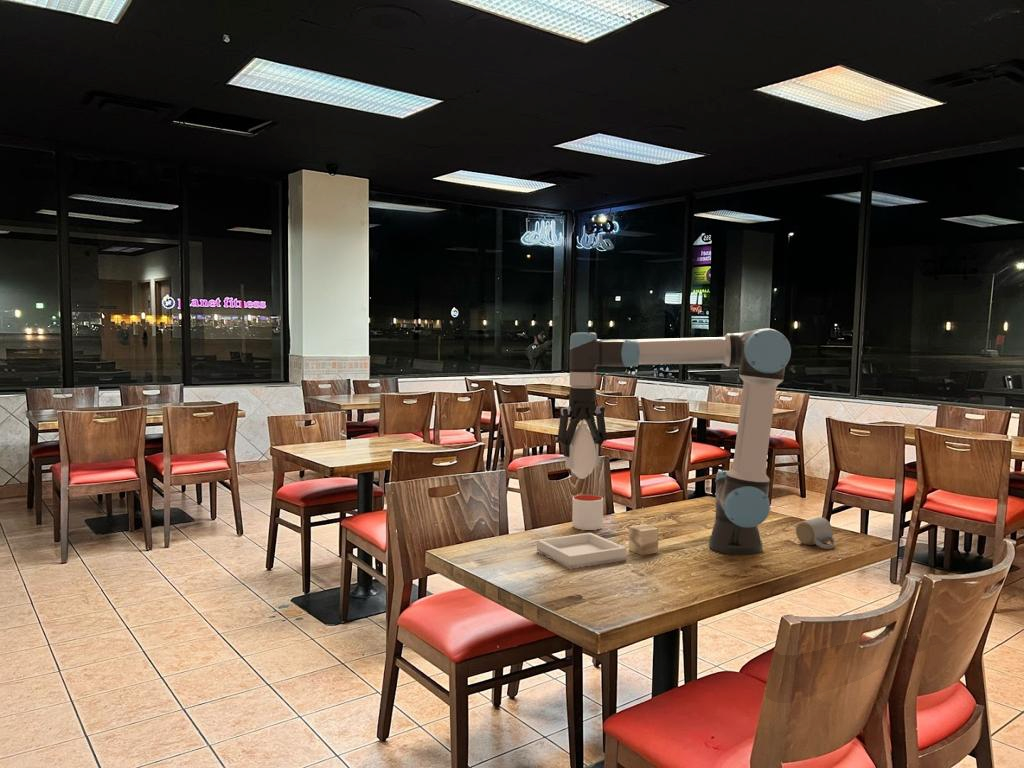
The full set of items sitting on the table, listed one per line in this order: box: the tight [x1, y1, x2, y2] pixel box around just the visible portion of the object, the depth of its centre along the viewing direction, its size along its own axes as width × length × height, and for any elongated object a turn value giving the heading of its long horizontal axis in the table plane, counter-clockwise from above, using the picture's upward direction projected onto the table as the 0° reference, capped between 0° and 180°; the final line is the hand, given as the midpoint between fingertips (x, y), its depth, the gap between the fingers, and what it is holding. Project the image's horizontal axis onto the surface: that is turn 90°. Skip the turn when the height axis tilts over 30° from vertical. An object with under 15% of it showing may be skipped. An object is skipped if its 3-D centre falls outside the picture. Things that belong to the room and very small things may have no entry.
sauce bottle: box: [570, 420, 596, 480], centre depth 209 cm, size 8×8×18 cm
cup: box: [571, 494, 604, 531], centre depth 241 cm, size 10×10×10 cm
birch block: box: [628, 523, 659, 556], centre depth 214 cm, size 6×6×7 cm
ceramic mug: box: [795, 516, 836, 550], centre depth 221 cm, size 11×8×8 cm
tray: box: [536, 532, 627, 570], centre depth 210 cm, size 18×18×4 cm
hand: (581, 467), depth 209 cm, fingers closed on sauce bottle, 8 cm apart
